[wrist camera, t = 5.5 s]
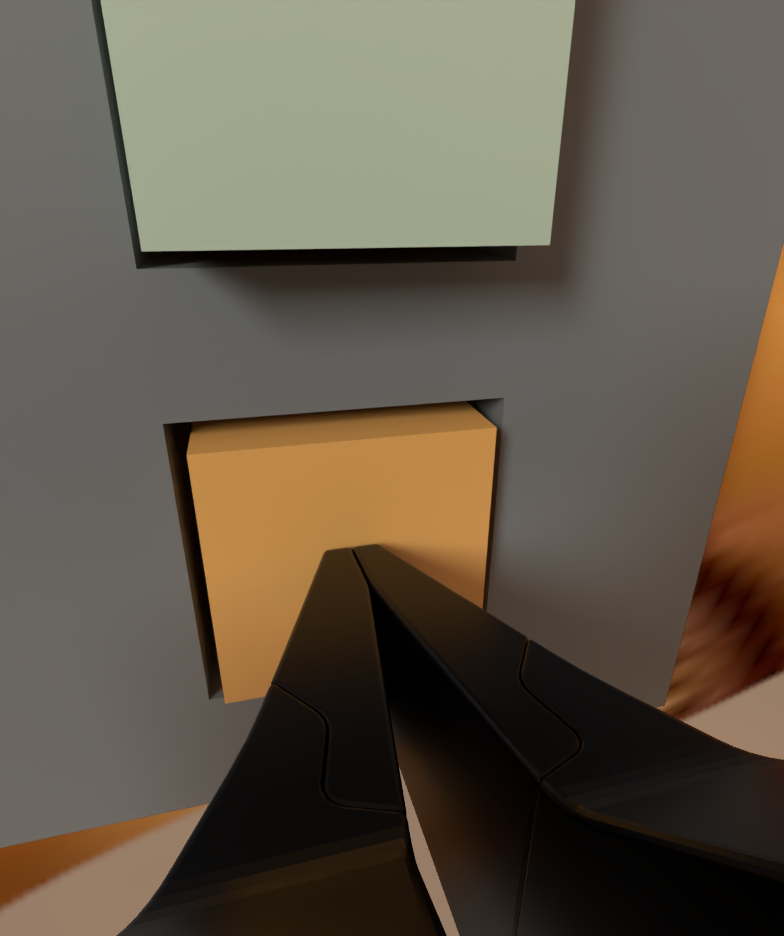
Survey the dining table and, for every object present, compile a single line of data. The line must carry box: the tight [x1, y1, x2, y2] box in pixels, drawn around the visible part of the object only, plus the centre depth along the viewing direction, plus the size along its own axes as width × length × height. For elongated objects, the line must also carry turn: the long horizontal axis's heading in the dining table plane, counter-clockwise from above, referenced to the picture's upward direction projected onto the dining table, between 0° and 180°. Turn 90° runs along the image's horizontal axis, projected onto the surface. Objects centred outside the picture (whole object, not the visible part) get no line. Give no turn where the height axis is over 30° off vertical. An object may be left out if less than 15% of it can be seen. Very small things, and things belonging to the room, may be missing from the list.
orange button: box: [187, 401, 497, 704], centre depth 10 cm, size 4×4×3 cm
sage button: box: [101, 0, 575, 252], centre depth 7 cm, size 4×4×3 cm
